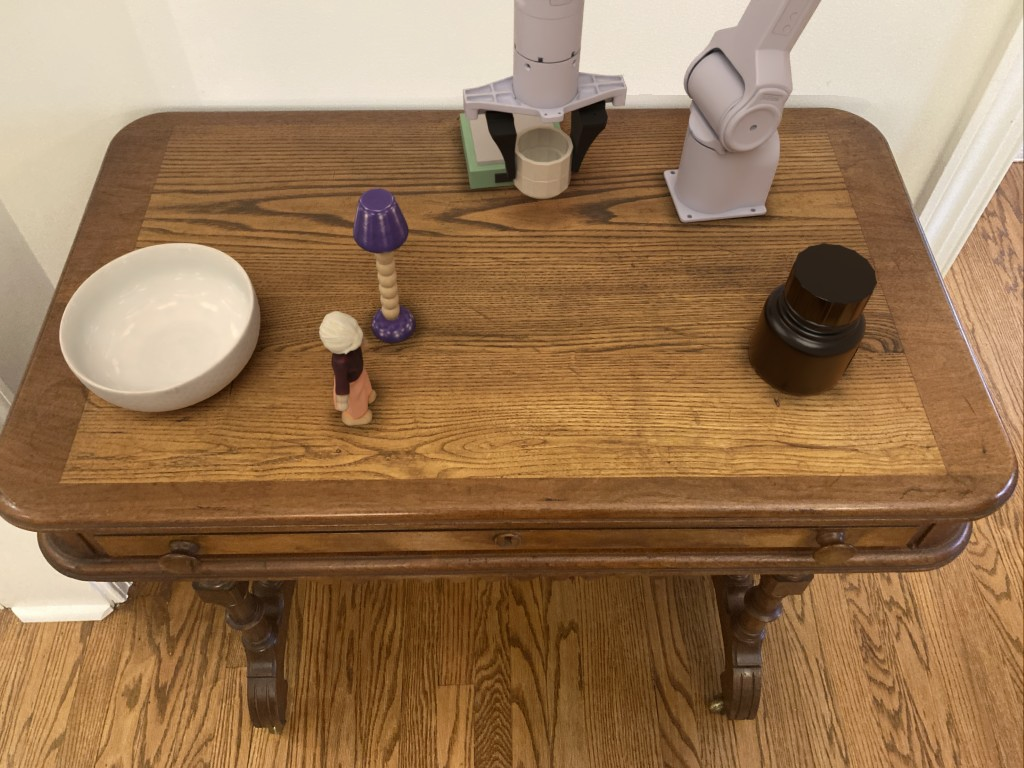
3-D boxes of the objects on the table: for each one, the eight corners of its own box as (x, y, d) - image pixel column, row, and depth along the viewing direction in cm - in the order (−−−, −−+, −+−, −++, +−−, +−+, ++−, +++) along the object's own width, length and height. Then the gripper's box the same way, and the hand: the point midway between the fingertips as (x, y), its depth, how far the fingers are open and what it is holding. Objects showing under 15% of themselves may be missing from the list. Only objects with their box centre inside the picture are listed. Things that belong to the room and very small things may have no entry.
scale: (553, 123, 101) (554, 100, 98) (569, 181, 95) (571, 159, 92) (460, 131, 100) (459, 108, 97) (470, 190, 94) (469, 168, 91)
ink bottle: (865, 375, 80) (917, 289, 70) (795, 416, 77) (838, 333, 67) (793, 307, 84) (832, 217, 75) (725, 344, 82) (755, 256, 72)
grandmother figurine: (337, 377, 79) (312, 285, 69) (379, 374, 79) (361, 282, 69) (334, 448, 75) (307, 361, 64) (379, 445, 75) (359, 358, 64)
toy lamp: (427, 317, 83) (413, 186, 70) (408, 353, 81) (390, 224, 67) (382, 304, 84) (359, 172, 70) (362, 339, 82) (334, 209, 68)
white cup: (563, 160, 87) (566, 123, 83) (574, 199, 83) (578, 161, 80) (508, 165, 86) (509, 128, 82) (517, 205, 83) (518, 167, 79)
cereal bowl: (110, 294, 85) (82, 244, 79) (280, 288, 85) (264, 237, 79) (69, 441, 75) (33, 395, 69) (261, 433, 75) (242, 387, 70)
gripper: (468, 79, 69) (472, 205, 80) (642, 64, 71) (623, 189, 82) (457, 30, 73) (463, 156, 84) (622, 16, 75) (607, 142, 86)
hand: (541, 169), depth 83 cm, fingers closed on white cup, 5 cm apart
